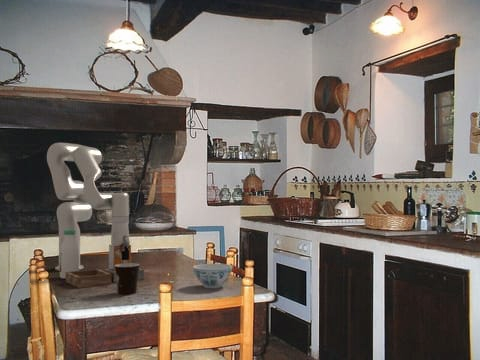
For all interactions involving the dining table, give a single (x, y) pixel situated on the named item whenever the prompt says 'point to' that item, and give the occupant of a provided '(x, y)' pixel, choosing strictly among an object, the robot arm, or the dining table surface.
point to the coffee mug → (127, 278)
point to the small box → (117, 256)
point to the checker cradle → (113, 274)
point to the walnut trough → (88, 278)
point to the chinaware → (212, 274)
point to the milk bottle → (69, 254)
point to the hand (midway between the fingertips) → (121, 259)
